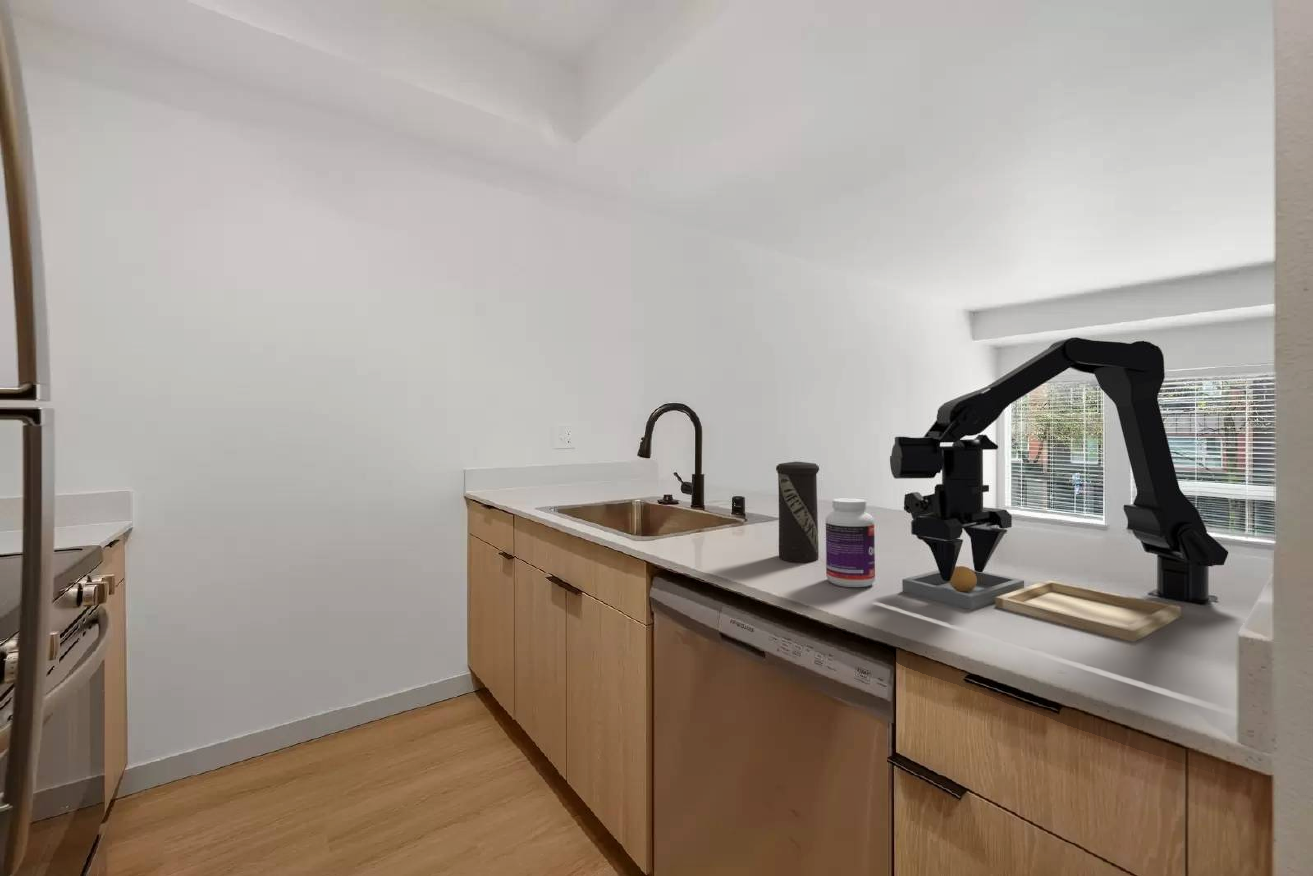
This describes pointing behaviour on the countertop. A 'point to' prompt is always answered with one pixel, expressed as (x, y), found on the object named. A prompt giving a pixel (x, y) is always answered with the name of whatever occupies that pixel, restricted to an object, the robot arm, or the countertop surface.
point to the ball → (963, 579)
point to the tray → (944, 592)
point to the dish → (1090, 609)
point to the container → (798, 511)
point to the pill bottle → (850, 544)
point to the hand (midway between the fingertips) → (962, 576)
